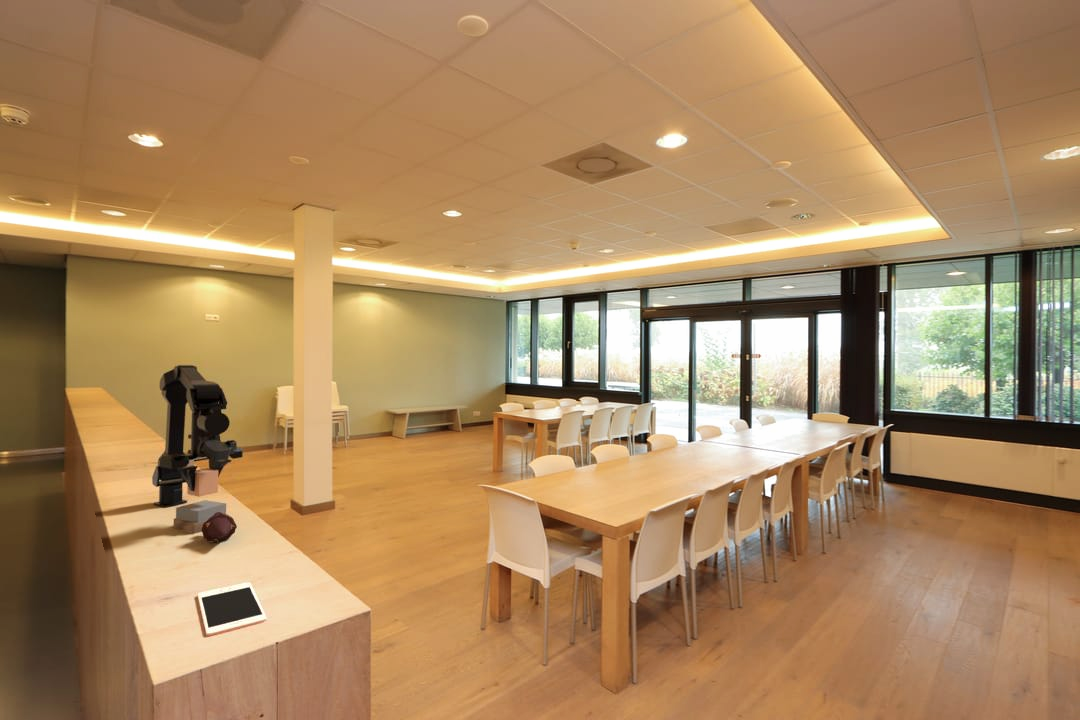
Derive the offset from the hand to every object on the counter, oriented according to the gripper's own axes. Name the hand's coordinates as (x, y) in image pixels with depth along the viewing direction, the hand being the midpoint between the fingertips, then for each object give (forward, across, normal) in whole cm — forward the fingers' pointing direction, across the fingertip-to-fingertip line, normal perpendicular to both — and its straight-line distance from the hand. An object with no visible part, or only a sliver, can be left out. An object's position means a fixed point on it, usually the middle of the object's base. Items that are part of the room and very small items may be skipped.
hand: (202, 488), depth 138 cm
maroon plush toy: (+10, -5, -15) cm, 19 cm away
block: (+1, 0, 0) cm, 1 cm away
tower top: (+7, 0, 0) cm, 7 cm away
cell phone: (+10, -25, -50) cm, 57 cm away
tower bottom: (+10, 0, 0) cm, 10 cm away
